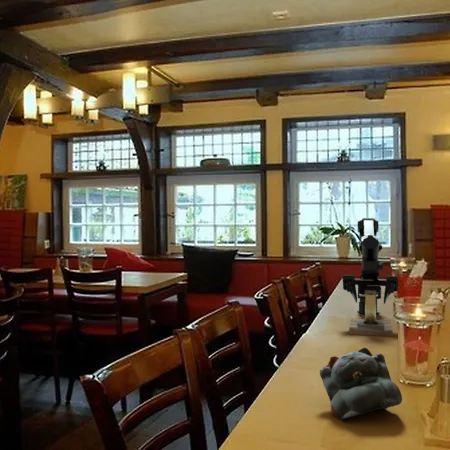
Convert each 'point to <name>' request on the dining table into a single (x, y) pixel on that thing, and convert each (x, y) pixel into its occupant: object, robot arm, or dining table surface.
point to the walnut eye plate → (386, 326)
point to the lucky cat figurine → (359, 384)
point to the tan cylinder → (370, 307)
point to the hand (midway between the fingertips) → (370, 302)
